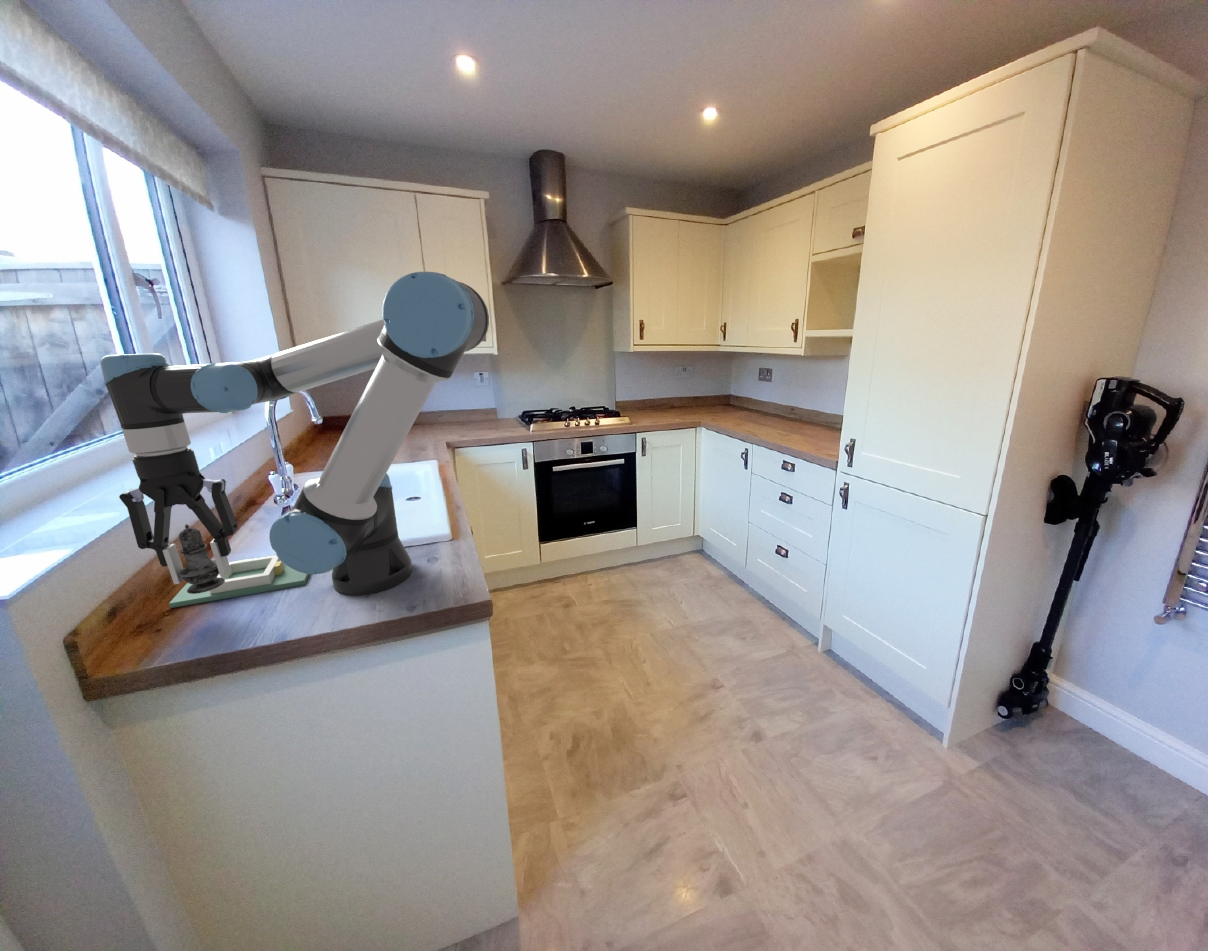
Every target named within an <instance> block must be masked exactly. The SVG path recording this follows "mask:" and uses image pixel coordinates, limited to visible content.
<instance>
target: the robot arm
mask: <svg viewBox="0 0 1208 951" xmlns="http://www.w3.org/2000/svg"><path fill="white" fill-rule="evenodd" d="M381 309H382V310H381V315H382V316H381V317H382V319H379V320H376V321H374V322H370V323H368V324H363V325H361V326H360V325H359V326H358V327H354V328H351V329H347V330H345V331H342V332H339V333H335V334H332V335H330V336H326V337H323V338H319V339H317V340H312V341H310V342H307V343H304V344H300V345H297V346H294V347H292V348H289V349H285V350H282V351H278V352H276V353H274V354H273V353H272V354H269V355H265V356H263V357H259V358H255V359H252V360H246V361H231V362H229V361H228V362H216V363H215V362H212V363H202V364H201V363H199V364H186V365H184V364H183V365H170V364H169V363H167V360H166V357H165V356H164V355H163V354H161V353H132V354H131V353H130V354H129V353H128V354H107V355H104V356H103V357H102V358H101V359H100V367H101V371H102V376H103V380H104V382H103V384H104V386H105V387H106V389H107V391H108V394H109V396H110V397H109V398H110V400H111V403H112V405H113V408H114V410H115V413H116V416H117V419H118V422H119V425H120V428H121V431H122V433H123V436H124V440H125V443H126V446H127V451H128V452H129V453H131V454H133V457H132V458H131V460H132V463H133V465H134V469H135V472H136V474H137V477H138V478H139V481H140V482H139V484H138V487H137V488H135V489H132V488H131V489H128V490H127V491H125V492H122V493H121V494H119V496H118V497H119V500H120V501H121V503H123V504H124V506H125V507H126V509H127V512H128V515H129V519H130V523H131V526H132V529H133V535H134V537H135V542H136V545H137V547H138V548H139V549H140V550H145V549H151V550H154V551H155V552H156V556H157V559H158V562H159V564H160V566H161V567H168V571H169V574H170V578H171V579H172V582H173V585H180V584H181V583H182V582H183V581H185V580H184V579H183V578H182V577H181V576H179V572H180V571H181V570H183V569H184V566H183V564H182V563H183V562H182V560H181V556H180V554H179V551H178V548H177V545H176V543H171V544H169V543H170V542H171V540H172V539H171V540H170V531H171V530H170V528H171V514H172V509H173V506H176V505H179V506H180V505H182V506H183V505H185V506H186V507H187V508H188V509H189V510H192V512H193V513H194V515H195V516H196V518H197V519H198V520H199V521H200V522H201V524H202V525H203V526H204V528H205V529H206V530H207V532H208V533H209V534H210V536H212V538H213V539H212V540H211V541H210V542H209V546H210V548H211V551H212V555H213V557H214V558H213V559H214V560H215V561H216V564H217V568H218V571H219V574H220V576H225V575H226V574H227V573H228V571H229V570H230V566H229V562H230V561H229V560H228V556H229V555H230V554H231V552H232V548H231V545H230V541H229V538H228V537H229V536H233V535H234V534H235V533H236V532H237V530H238V529H239V525H238V523H237V521H236V517H235V515H234V512H233V510H232V507H231V503H230V501H229V499H228V495H227V493H226V484H227V482H226V480H225V479H224V478H219V479H209V478H206V477H205V476H204V475H202V473H201V472H200V470H199V469H200V468H199V464H198V460H197V457H196V454H195V451H194V449H192V448H191V447H189V446H190V445H191V442H192V441H191V438H190V436H189V432H188V428H187V425H186V422H185V418H184V415H183V414H195V413H197V414H199V413H201V414H202V413H220V414H228V413H230V412H231V413H232V412H233V413H234V412H240V411H245V410H249V409H250V408H251V407H252V405H255V404H256V405H257V404H261V403H266V402H275V401H280V400H283V399H286V398H288V397H291V396H292V395H294V394H296V393H300V392H303V391H307V390H310V389H313V388H316V387H320V386H323V385H326V384H329V383H332V382H336V381H339V380H343V379H345V378H349V377H351V376H352V377H353V376H356V375H359V374H362V373H366V372H368V371H371V370H373V372H372V374H371V377H370V379H369V380H368V382H367V384H366V386H365V388H364V390H363V392H362V393H361V397H360V398H359V400H358V402H357V404H356V406H355V408H354V410H353V412H352V414H351V416H350V418H349V420H347V421H348V422H347V423H346V425H345V428H344V429H343V431H342V433H341V435H340V437H339V439H338V441H337V444H336V445H335V447H334V449H333V451H332V453H331V455H330V457H329V459H328V461H327V463H326V465H325V467H324V469H323V471H322V473H321V475H320V476H316V477H315V476H314V477H312V478H310V479H308V480H307V481H306V482H305V483H304V484H303V487H302V488H301V491H300V493H299V495H298V497H297V498H296V500H295V503H294V505H293V506H292V508H291V509H290V510H289V511H288V512H284V513H282V514H281V515H279V516H278V518H277V519H276V520H275V521H274V522H273V524H272V525H271V527H270V528H269V529H270V530H269V536H268V537H269V542H270V547H271V549H272V550H273V551H274V552H275V553H276V554H275V555H277V557H278V558H279V559H280V560H281V561H282V562H283V563H284V564H286V565H287V566H288V567H290V568H292V569H294V570H296V571H298V572H301V573H305V574H309V575H321V574H325V573H329V572H330V571H332V572H331V573H332V574H331V581H332V585H333V588H334V590H335V591H336V592H339V593H340V594H344V595H349V596H350V595H351V596H357V595H358V596H359V595H361V596H362V595H369V594H375V593H378V592H382V591H385V590H389V589H391V588H394V587H395V586H397V585H399V584H401V583H402V582H404V581H405V580H407V579H408V578H409V577H410V575H411V574H412V572H413V565H412V560H411V557H410V555H409V554H408V551H407V550H406V547H405V546H404V544H403V542H402V540H401V539H400V537H399V531H398V524H397V518H396V509H395V503H394V495H393V486H392V484H391V481H390V480H391V479H390V476H389V475H388V471H389V469H390V467H391V466H392V464H393V461H394V460H395V458H396V457H397V454H398V452H399V451H400V449H401V447H402V445H403V443H404V442H405V440H406V438H407V436H408V434H409V432H410V430H411V428H412V427H413V425H414V423H415V421H416V420H417V418H418V416H419V414H420V412H421V411H422V408H423V407H424V406H425V403H426V401H427V399H428V398H429V396H430V394H431V393H432V391H433V389H434V387H435V385H436V384H437V383H439V382H442V381H443V382H444V381H448V380H450V378H451V377H452V375H453V373H454V372H455V370H456V368H457V366H458V364H459V362H460V361H461V359H462V357H463V355H464V354H465V352H466V353H467V352H469V351H471V350H473V349H476V348H477V347H478V346H479V345H480V344H481V343H482V342H483V341H484V339H485V337H486V336H487V333H488V331H489V326H490V315H489V309H488V306H487V304H486V302H485V300H484V299H483V298H482V296H481V295H480V294H479V293H478V292H477V291H476V290H475V289H474V288H472V287H471V286H470V285H467V284H465V283H464V282H461V281H458V280H456V279H454V278H452V277H449V276H447V275H446V274H445V273H440V272H437V271H436V272H435V271H434V272H433V271H416V272H411V273H407V274H405V275H404V276H401V277H400V278H398V279H396V281H394V282H393V284H392V285H391V286H390V287H389V288H388V291H387V292H386V294H385V297H384V299H383V303H382V308H381ZM134 454H135V455H134ZM204 487H205V488H206V489H207V492H208V493H209V494H210V493H211V498H212V502H213V505H214V507H215V509H216V512H217V514H218V518H219V519H218V518H217V515H215V514H214V512H213V511H212V510H211V508H210V507H209V506H208V504H207V503H206V501H205V500H206V499H205V498H204V497H203V495H202V494H201V492H202V490H203V488H204ZM145 496H146V497H147V498H149V499H150V500H152V501H153V502H154V505H153V506H154V507H153V512H154V522H153V523H154V524H153V525H154V526H153V530H152V526H151V523H150V519H149V516H148V510H147V508H146V504H145V501H144V499H145Z"/></svg>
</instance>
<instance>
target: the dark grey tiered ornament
mask: <svg viewBox="0 0 1208 951" xmlns="http://www.w3.org/2000/svg"><path fill="white" fill-rule="evenodd" d="M184 528H185V529H183V530H181V532H179V533H178V539H179V542H180V545H181V551H180V554H183V556H184V558H185V562H186V567H183V570H181V571H180V572H179V576H181V577H182V578H183V579H184V580H183V581H184V582H185V583H186V584H187V583H190V584H193V585H191V586H190V587H189V588H188V589H187V592H188V593H190V594H197V593H203V592H206V591H210V590H212V589H215V588H217V587H219V586H221V585H222V584H223V583H224V582H225V580H224V579H223V578H218V577H217V576H218V575H219V571H218V568H217V564H216V561H215V559H214V560H212V559H211V558H210V556H209V553H208V551H207V547H208V545H207V544H206V543H204V540H203V537H202V534H201V531H200V530H199V529H198V528H194V527H192V528H191V527H190V525H189V524H186V523H185V525H184Z"/></svg>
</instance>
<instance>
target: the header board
mask: <svg viewBox="0 0 1208 951" xmlns="http://www.w3.org/2000/svg"><path fill="white" fill-rule="evenodd" d="M228 562H229V566H230V570H229V571H228V573H227V574H226V575H225V576H220V574H219V575H218V576H217V577H218V578H223V579H224V580H225V582H224V583H223V584H222V585H221V586H219V587H217V588H215V589H212V590H210V591H206V592H203V593H197V594H190V593H188V592H187V589H188V588H189V587H190V586H191V585H193V584H190V583H187V582H186V584H185V585H184V586H183V587H182V588H181V589H180V590H179V591H178V593H177V594H176V595H175V596H174V597H173V598H172V599H171V601H169V603H168V605H169V607H170V609H172V608H178V607H184V606H190V605H197V604H201V603H207V602H213V601H218V600H224V599H229V598H236V597H241V596H247V595H253V594H258V593H264V592H271V591H276V590H281V589H282V590H283V589H287V588H293V587H298V586H304V585H306V583H307V581H308V578H309V576H310V574H305V573H301V572H298V571H296V570H294V569H292V568H290V567H288V566H287V565H286V564H284V563H283V562H282V561H281V560H280V559H279V558H278V557H277V555H276V554H275V555H269V556H263V557H262V556H261V557H256V558H255V557H254V558H248V559H241V560H236V561H235V560H233V561H228Z"/></svg>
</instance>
